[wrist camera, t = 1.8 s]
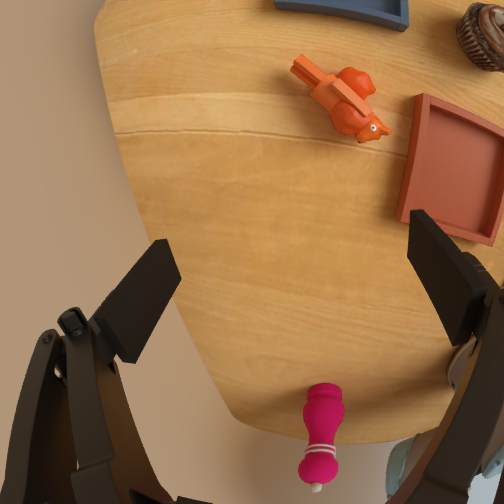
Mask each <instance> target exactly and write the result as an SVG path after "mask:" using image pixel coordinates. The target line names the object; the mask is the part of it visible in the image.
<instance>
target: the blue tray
mask: <svg viewBox="0 0 504 504" xmlns="http://www.w3.org/2000/svg"><path fill="white" fill-rule="evenodd" d="M274 3H275V6H276V8H277V10H291V11H302V12H311V13H319V14H326V15H333V16H339V17H344V18H349V19H354V20H359V21H363V22H368V23H372V24H376V25H380V26H383V27H387V28H390V29H394V30H397V31H400V32H404V31H405V30H406V29H407V28H408V27H409V8H408V0H274Z"/></svg>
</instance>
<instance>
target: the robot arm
mask: <svg viewBox="0 0 504 504" xmlns="http://www.w3.org/2000/svg"><path fill="white" fill-rule="evenodd" d="M407 257H408V259H409V261H410V263H411V264H412V266H413V268H414V270H415V271H416V273H417V275H418V277H419V279H420V280H421V282H422V284H423V286H424V288H425V290H426V292H427V293H428V295H429V297H430V299H431V301H432V303H433V305H434V307H435V309H436V311H437V313H438V315H439V318H440V320H441V322H442V324H443V326H444V328H445V330H446V333H447V335H448V337H449V339H450V342H451V344H452V346H457V345H461V344H462V345H461V346H460V347H459V348H458V349H457V350H456V352H455V353H454V354H453V356H452V357H451V359H450V361H449V363H448V366H447V372H446V373H447V378H448V381H449V384H450V385H451V387H452V388H453V389H454V396H453V398H452V401H451V403H450V405H449V407H448V409H447V411H446V413H445V415H444V417H443V419H442V421H441V423H440V425H439V426H438V427H436V428H434V429H431V430H429V431H426V432H424V433H421V434H420V433H418V434H416V435H415V436H414V437H412V438H409V439H407V440H404V441H402V442H400V443H398V444H397V445H396V446H395V447H394V448H393V449H392V451H391V453H390V456H389V459H388V464H387V470H386V493H387V500H388V501H387V502H386V503H385V504H467V501H468V498H469V496H468V492H469V490H470V489H471V485H470V484H471V482H472V480H473V478H474V476H476V475H478V474H480V473H482V475H483V476H484V478H486V479H488V478H491V477H493V476H495V475H496V474H499V473H500V472H502V473H501V478H500V481H499V485H498V489H497V492H496V496H495V499H494V502H493V504H504V288H503V289H501V288H500V287H499V286H498V284H497V283H496V282H495V280H494V279H493V278H492V276H491V275H490V274H489V273H488V271H486V269H485V268H484V266H483V265H482V264H481V263H480V262H479V260H478V259H477V258H476V257H475V256H473V255H472V254H470V253H469V252H461V250H460V249H459V248H458V247H457V246H456V245H455V243H454V242H453V241H452V240H451V239H450V238H449V237H448V235H447V234H446V233H445V232H444V231H443V230H442V229H441V228H440V227H439V226H438V224H437V223H436V222H435V221H434V220H433V219H432V218H431V217H430V216H429V215H428V214H427V213H426V212H425V211H424V210H423V209H417V210H410V222H409V239H408V252H407ZM181 279H182V278H181V276H180V273H179V270H178V268H177V265H176V263H175V260H174V257H173V254H172V252H171V249H170V246H169V244H168V241H167V239H160V240H155V241H154V242H153V244H152V245H151V246H150V247H149V248H148V250H147V251H146V252H145V253H144V254H143V255H142V257H141V258H140V259H139V260H138V261H137V263H136V264H135V265H134V266H133V267H132V268H131V270H130V271H129V272H128V273H127V275H126V276H125V277H124V278H123V279H122V281H121V282H120V283H119V284H118V286H117V287H116V288H115V289H114V290H113V291H111V292H110V293H109V295H108V296H107V297H106V299H105V300H104V301H103V302H102V304H101V306H99V308H98V309H97V310H96V311H95V313H94V314H93V315H92V317H91V318H90V319H89V321H87V319H86V318H85V316H84V314H83V313H82V311H81V310H80V308H78V307H73V308H70V309H68V310H67V311H65V312H64V313H63V314H61V316H60V317H59V318H58V321H57V323H58V324H59V326H60V327H61V329H62V330H63V332H64V333H65V336H60V335H59V334H58V333H57V331H56V330H55V329H49V330H46V331H45V332H43V333H42V335H41V336H40V337H39V339H38V341H37V343H36V346H35V349H34V352H33V354H32V357H31V360H30V363H29V366H28V369H27V373H26V375H25V379H24V382H23V385H22V389H21V392H20V396H19V400H18V404H17V408H16V412H15V416H14V421H13V425H12V430H11V436H10V442H9V448H8V454H7V462H6V471H5V480H4V483H3V486H2V489H1V493H0V504H212V503H208V502H203V501H198V500H193V499H189V498H185V497H180V496H178V498H177V501H173V499H172V498H171V496H170V495H169V494H168V492H167V491H166V490H165V489H164V488H163V487H162V486H161V485H160V483H159V481H158V480H157V477H156V475H155V473H154V471H153V468H152V466H151V464H150V462H149V459H148V457H147V454H146V452H145V449H144V447H143V444H142V442H141V439H140V437H139V434H138V431H137V428H136V426H135V423H134V420H133V417H132V414H131V411H130V408H129V405H128V402H127V399H126V395H125V392H124V389H123V385H122V382H121V378H120V374H119V370H118V366H117V364H116V362H115V360H114V357H115V355H116V353H117V355H118V356H119V358H120V359H121V360H122V362H126V363H133V364H136V362H137V360H138V358H139V356H140V354H141V352H142V350H143V348H144V346H145V345H146V342H147V341H148V339H149V337H150V335H151V333H152V331H153V329H154V328H155V326H156V324H157V322H158V320H159V319H160V317H161V315H162V313H163V311H164V309H165V307H166V306H167V304H168V302H169V300H170V299H171V297H172V295H173V293H174V292H175V290H176V288H177V286H178V285H179V283H180V281H181ZM472 332H473V333H474V334H473V335H472V336H471V334H472ZM55 368H56V369H57V370H58V372H59V373H60V377H57V376H56V375H55ZM77 460H78V464H79V468H78V470H77Z"/></svg>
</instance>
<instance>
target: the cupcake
mask: <svg viewBox="0 0 504 504" xmlns="http://www.w3.org/2000/svg"><path fill="white" fill-rule="evenodd" d="M457 36H458V39H459V43H460V45H461V47H462V49H463V51H464V52H465V53H466V54H467V56H468V57H469V58H470V60H471V61H472V62H473V63H475V64H476V65H477V66H478V67H480V68H483V69H484V70H488V71H491V72H494V71H498V72H503V73H504V8H503V7H501V6H499V5H495V4H483V3H479V2H478V3H477V2H476V3H475V4H474V3H473V4H472V5H470V6H469V7H468V9H467V11H466V13H465V15H464V16H463V18H462V19H461V20H460V22H459V23H458V25H457Z"/></svg>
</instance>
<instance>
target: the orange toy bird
mask: <svg viewBox="0 0 504 504" xmlns="http://www.w3.org/2000/svg"><path fill="white" fill-rule="evenodd" d="M293 64H294V65H293V66H292V67H291V69H290V71H291V72H292V73H293V74H295V75H296V76H297V77H298V78H300V79H301V80H302V81H303V82H304V83H306V84H307V85H308V86H309V87H310V88H312V89H313V91H312V93H311V94H310V95H311V96H312V97H313V98H314V99H316V100H317V101H318V102H319V103H320V104H321V105H322V106H323V107H325V108H326V109H327V110H328V111H329V112H330V114H331V118H332V121H333V124H334V126H335V128H336V129H337V130H339V131H340V132H342V133H343V134H345V135H353V134H355V138H356V140H357V141H358V143H365V142H366V141H371V140H375V139H376V140H379V139H380V138H381V135H391V130H390V129H389V128H387V127H386V126H385V125H383V124H382V123H381V121H380V120H379V118H378V117H377V116H375V115H373V114H374V113H373V112H372V109H371V108H370V107H369V106H368V105H367V104H366V103H365V102H364V101H363V100H364V99H365V98H366V97H367V96H368V95H371V94H373V93H374V92H375V90H376V89H375V87H374V85H373V83H372V81H371V79H370V77H369V75H368V74H367V73H365V72H362V71H358V70H356V69H354V68H352V67H347V68H345V69H343V70H342V71H341V72H339V74H338V75H337V78H336V77H335V76H334V75H333V74H332V73H331V74H329V75H327V74H326V73H325V72H323V71H322V70H321V69H320V68H319V67H317V66H316V65H315V64H314V63H312V62H311V61H310V60H309V59H307V58H306V57H305V56H304V55H302V54H301V55H300V56H298V57H297V58H296V59H295V60H294V63H293Z"/></svg>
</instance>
